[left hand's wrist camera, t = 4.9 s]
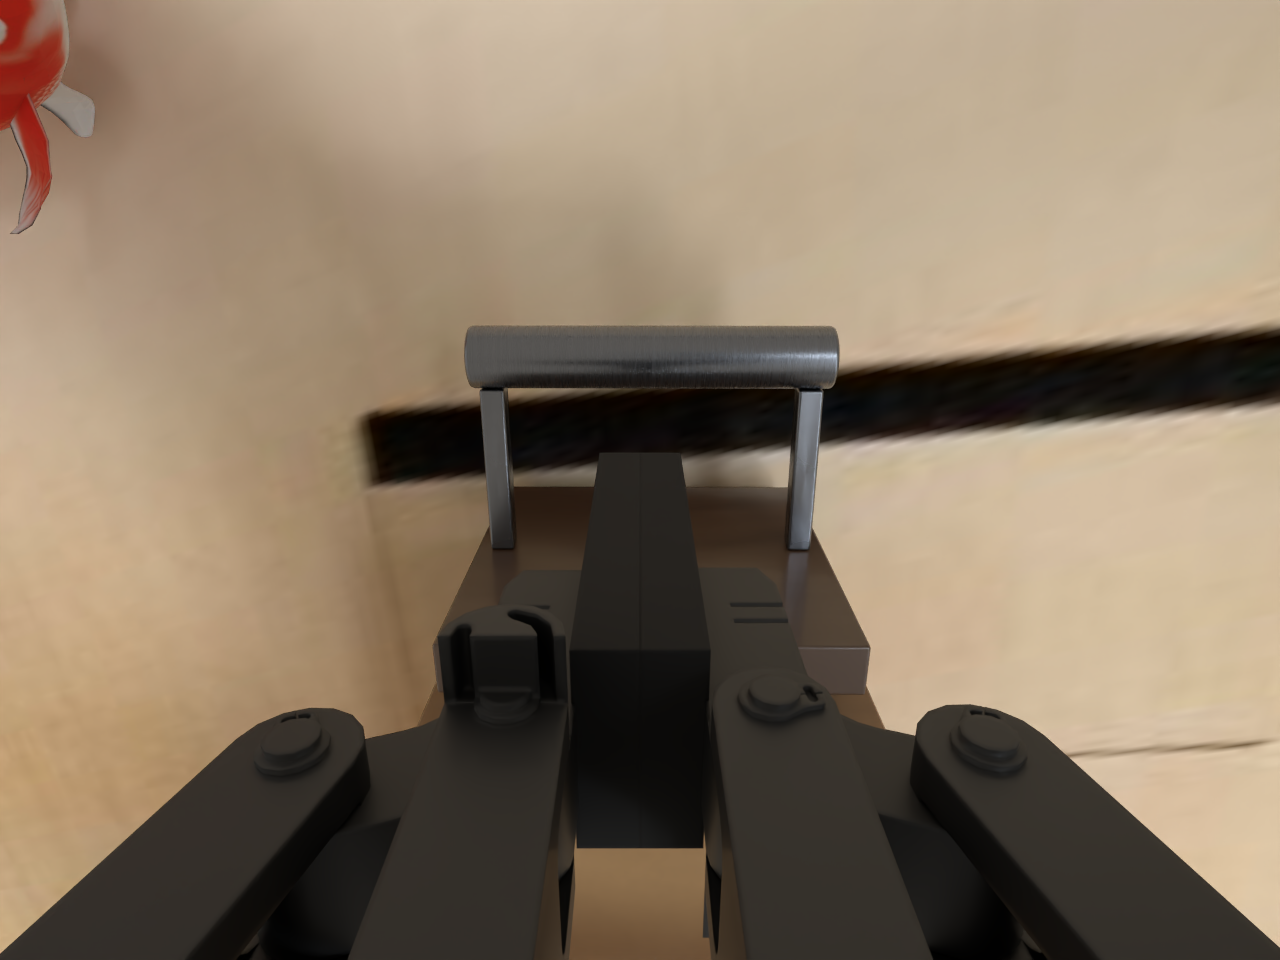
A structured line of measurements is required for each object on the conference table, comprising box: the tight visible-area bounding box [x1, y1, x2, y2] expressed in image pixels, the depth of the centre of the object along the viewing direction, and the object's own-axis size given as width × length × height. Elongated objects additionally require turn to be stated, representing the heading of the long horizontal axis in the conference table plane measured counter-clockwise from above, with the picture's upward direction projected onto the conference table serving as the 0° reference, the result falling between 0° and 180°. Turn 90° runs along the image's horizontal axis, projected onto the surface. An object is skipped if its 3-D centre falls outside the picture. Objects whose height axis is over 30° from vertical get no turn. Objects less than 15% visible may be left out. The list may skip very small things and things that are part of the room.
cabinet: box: [417, 681, 885, 960], centre depth 24 cm, size 20×10×11 cm, turn 0°
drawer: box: [433, 326, 870, 695], centre depth 22 cm, size 25×9×9 cm, turn 0°
